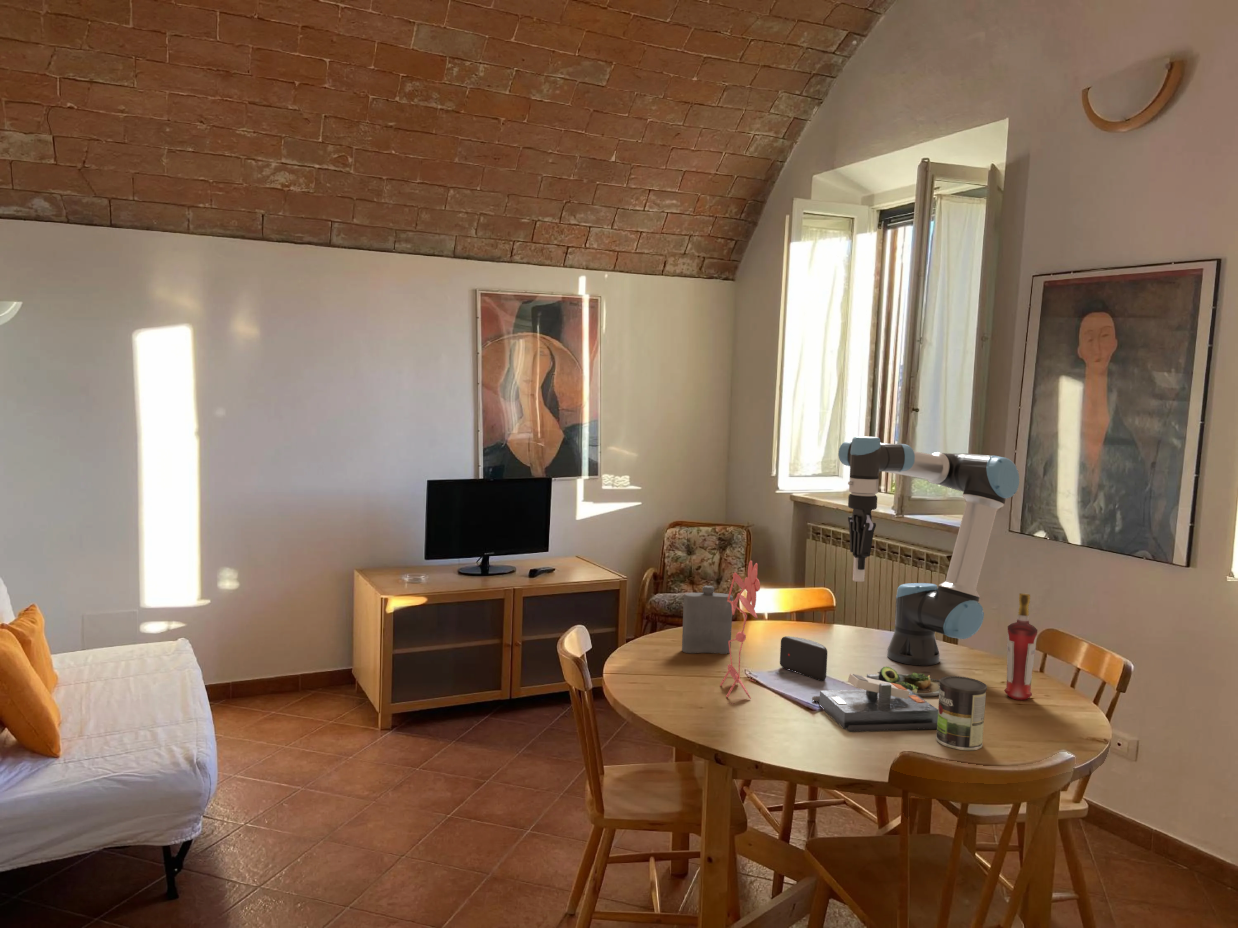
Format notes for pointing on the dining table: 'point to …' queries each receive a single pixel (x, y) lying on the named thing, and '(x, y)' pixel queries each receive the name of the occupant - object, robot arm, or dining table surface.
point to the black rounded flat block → (804, 657)
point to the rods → (887, 725)
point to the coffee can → (961, 713)
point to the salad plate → (911, 681)
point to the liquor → (1020, 653)
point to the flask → (707, 622)
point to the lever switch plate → (876, 707)
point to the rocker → (877, 685)
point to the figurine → (751, 587)
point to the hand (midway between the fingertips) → (858, 580)
